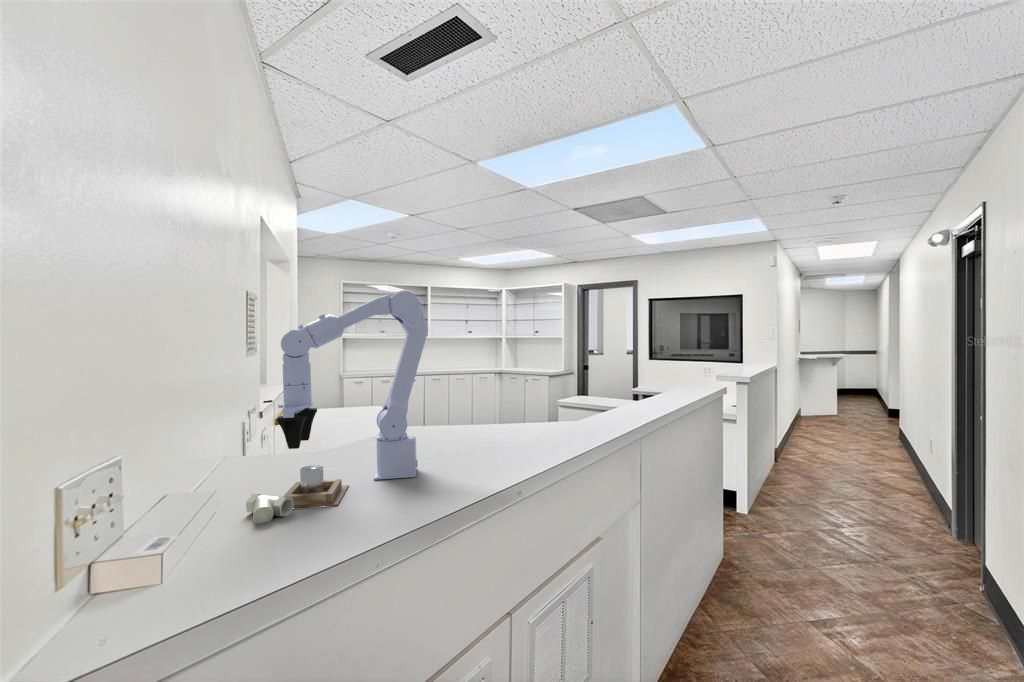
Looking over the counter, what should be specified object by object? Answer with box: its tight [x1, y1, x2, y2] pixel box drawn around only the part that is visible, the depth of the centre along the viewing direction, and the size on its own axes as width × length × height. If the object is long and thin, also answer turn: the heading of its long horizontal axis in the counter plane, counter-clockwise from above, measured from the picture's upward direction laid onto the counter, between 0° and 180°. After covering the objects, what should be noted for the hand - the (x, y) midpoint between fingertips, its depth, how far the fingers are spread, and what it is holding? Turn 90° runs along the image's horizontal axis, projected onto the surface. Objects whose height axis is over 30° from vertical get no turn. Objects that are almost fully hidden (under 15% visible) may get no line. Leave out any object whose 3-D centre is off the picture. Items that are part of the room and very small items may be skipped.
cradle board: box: [282, 478, 350, 509], centre depth 98 cm, size 12×12×3 cm
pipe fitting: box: [245, 493, 294, 525], centre depth 88 cm, size 8×4×7 cm
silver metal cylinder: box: [299, 464, 324, 494], centre depth 98 cm, size 4×4×6 cm
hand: (299, 444), depth 106 cm, fingers open, 7 cm apart
